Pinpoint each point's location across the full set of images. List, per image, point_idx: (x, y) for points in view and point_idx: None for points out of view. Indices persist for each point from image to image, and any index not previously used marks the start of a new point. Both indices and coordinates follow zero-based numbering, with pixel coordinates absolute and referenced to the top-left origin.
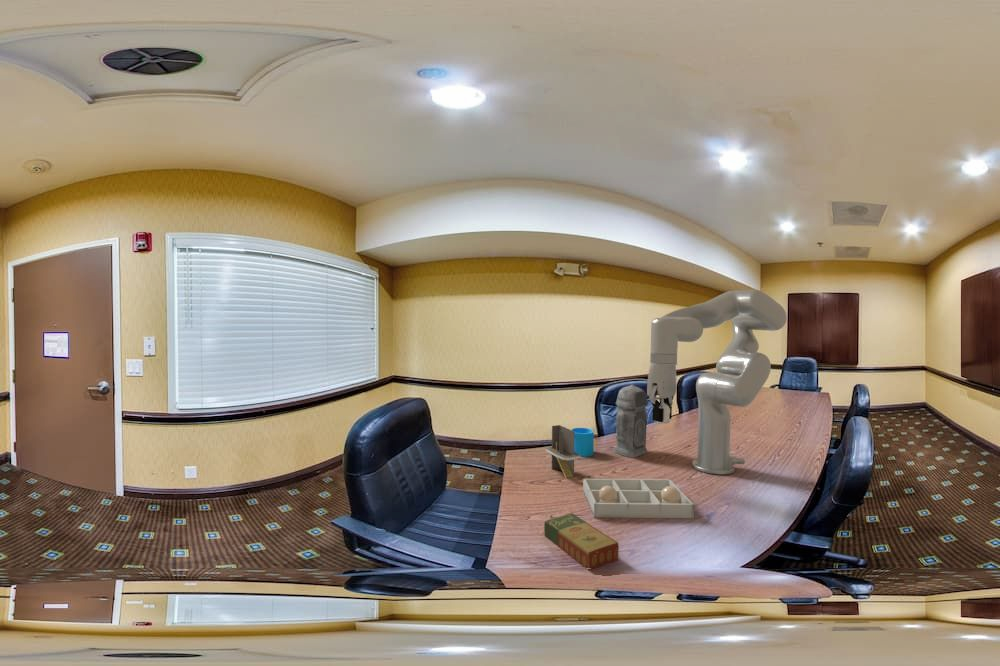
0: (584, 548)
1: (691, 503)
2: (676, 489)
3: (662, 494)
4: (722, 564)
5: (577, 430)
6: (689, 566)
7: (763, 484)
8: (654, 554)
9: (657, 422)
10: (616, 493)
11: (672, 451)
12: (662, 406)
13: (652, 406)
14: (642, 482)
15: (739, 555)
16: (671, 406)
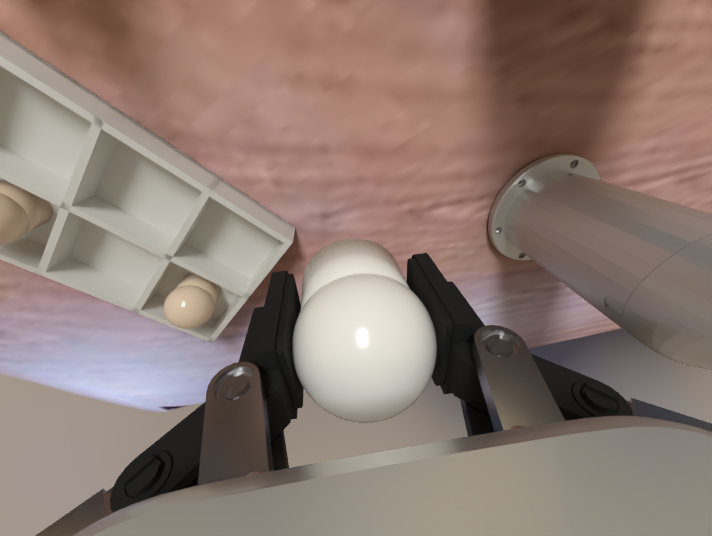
0: None
1: (212, 338)
2: (194, 326)
3: (164, 302)
4: (140, 398)
5: None
6: (83, 386)
7: (488, 313)
8: (41, 353)
9: (302, 283)
10: (5, 243)
11: (676, 11)
12: (283, 437)
13: (213, 384)
14: (193, 209)
15: (186, 396)
16: (449, 390)
